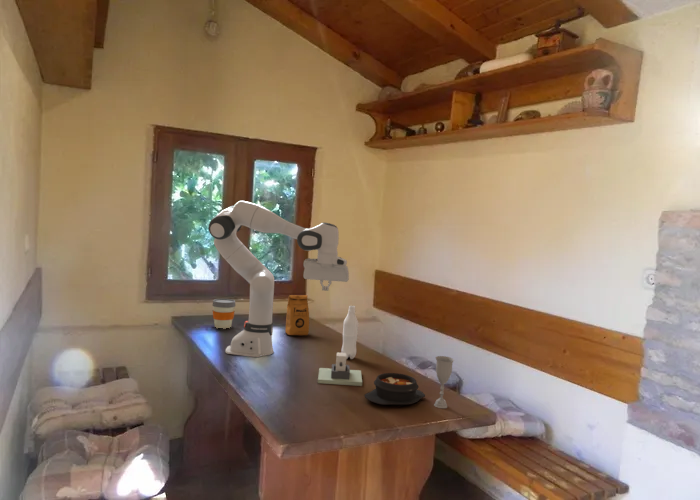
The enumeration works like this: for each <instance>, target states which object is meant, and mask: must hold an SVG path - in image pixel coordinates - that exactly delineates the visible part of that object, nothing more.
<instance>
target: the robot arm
mask: <svg viewBox="0 0 700 500" xmlns="http://www.w3.org/2000/svg"><path fill="white" fill-rule="evenodd" d="M242 226H243V227H247V228H249V229H251V230H254V231H256V232H260V233H264V234H282V235H284V236H287V237H290V238H292V239H295V240H296V243H297V245H298V247H299V248H300V249H301V250H303V251H307V252H309V251H311V252H312V251H317V258H311V257H310V258H309V257H308V258H305V260H303V265H302V266H303V268H304V270H303V278H304V279H305V280H315V281H319V283H320V286H321V291H330V290H329V288H330V286H331V285H332V282H341V283H342V282H343V283H347V282H349V279H350V275H349V274H350V273H349V267H348V266H347V263H348V261H347V259H345V258H343V257H341V256H339V255H338V254H339V253H338V246H339V239H340V238H339V228H338V227H337V225H335V224H333V223H329V222H321V223H320V224H318V225H316V226H313V227H303V226H301V225H298V224H295V223H294V222H290V221H289V220H286V219H284V218H282V217H281V216H279V215H278V214H276V213H274V212H273V211H271V210H270V209H268V208H266V207H264V206H262V205H259V204H256V203H253V202H250V201H245V200H239V201H237V202H236V203H235V204H234V205H231V206H227V207H226V208H225V209H223V210H221V211H220V212H218V214H217V215H216V216H214V217H213V218H211V220H210V222H209V223H208V228H207V229H208V232H209V234H210V235H211V237H212V238H214V240H213V245H214V247H215V248H216V250H217V251H218V253H219V254H220V256H222V258H223V259H224V260H225V261H226V262H227V263H228V265H230V267H231V268H232V269H233V270H234V271H235V272H236V273H237V274H238V275H239V276H241V277H242V278H243V279H244V280H246V282H248V284H249V307H248V308H249V309H248V320H245V321H244V323H243V330H241V331H240V332H238V333H237V334H236V335H235V336H233V337H232V339H231V342H230V345H228V346H226V347H225V353H226V354H228V355H235V356H244V357H252V358H259V357H263V356H264V357H265V356H270V355H271V354H274V348H273V347H274V346H273V339H272V338H273V337H272V336H273V331H274V326H273V325H274V324H273V310H274V296H275V295H274V293H275V276H274V274H273V273H272V272H271V271H270V270H269V269H268V268H267V267H266V266H265V265H264V264H263V263H262V262H261V261H260V260H259V259H258V258H257V257H256V256H255V255H254V254H253V253H252V252H251V251H250V250H249V249H248V247H246V246H245V244H244V243H243V242H242V241H241V240H240V239H239V238H238V236H237V235H238V234H237V233H238V232H240V230H241V228H242ZM324 281H326V282H327V281H328V284H327V285H324V284H323V283H324Z"/></svg>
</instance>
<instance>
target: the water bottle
mask: <svg viewBox="0 0 700 500" xmlns="http://www.w3.org/2000/svg"><path fill="white" fill-rule="evenodd" d="M347 311H348V312H347V315H346V317H345V318H344V320H343V322H342V323H343V326H342V328H343V329H342V346H341V349H340V350H341V352H340V353H346V360H348V359H350V360H353V359H355V357H356V354H357V339H358V333H359V332H358V328H359V319H358V318H357V316H356V306H355V305H349V306H348V310H347Z"/></svg>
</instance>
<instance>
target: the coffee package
mask: <svg viewBox="0 0 700 500" xmlns="http://www.w3.org/2000/svg"><path fill="white" fill-rule="evenodd" d="M288 295H289V296H288V299H287V300H288V301H287V306H286V316H285V317H286V319H285V329H284V330H285V334H287V335H289V336H308V335H309V333H310V311H309V305H308V304H309V303H308V295H304V294H303V295H295V294H294V295H293V294H291V295H290V294H288Z"/></svg>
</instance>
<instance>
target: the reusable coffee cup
mask: <svg viewBox="0 0 700 500" xmlns="http://www.w3.org/2000/svg"><path fill="white" fill-rule="evenodd" d="M235 307H236V300H235V299H230V298H215V299H213V301H212V308H213V310H212V317H213V322H214V328H215V327H216V328H215V329H218V328H223V329H222V330H226V328H229V329H231V328H232V324H233V320H234V317H235ZM230 327H231V328H230Z"/></svg>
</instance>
